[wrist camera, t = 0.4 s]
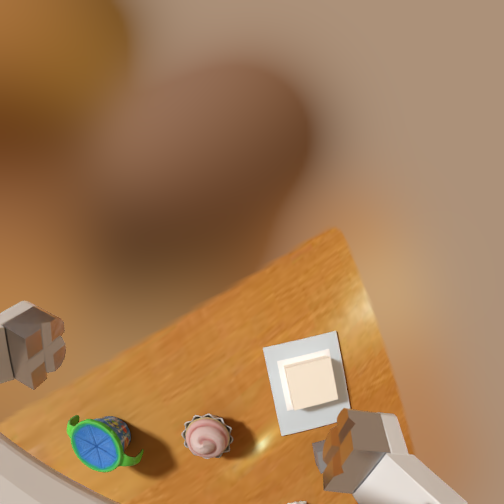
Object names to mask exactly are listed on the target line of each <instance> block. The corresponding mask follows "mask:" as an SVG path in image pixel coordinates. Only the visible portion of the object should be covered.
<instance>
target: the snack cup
mask: <svg viewBox="0 0 504 504" xmlns="http://www.w3.org/2000/svg"><path fill="white" fill-rule="evenodd" d="M78 422H79V416H78V415H75V416H73V417H72V418H71V419H70V420H69V421H68V425H67V433H68V435H69V437H70V438H71V444H72V448H73V450H74V452H75V454H76V455H77V457H78V458H79V459H80V460H81V462H82V463H84V464H85V465H86V466H88V467H89V468H91V469H93V470H95V471H99V472H110V471H112V470H114V469H116V468H117V467H118V466H132V465H136V464H138V463H139V462H140V461H141V458H142V455H143V451H144V450H143V449H142V450H141V452H140V453H139V454H138V455H137V456H136V457H130V456H127V455H126V454H124V453H125V451H126V449H127V448H128V445H129V443H130V441H131V434H130V430H129V428H128V427H127V424H126V423H125V422H123V421H122V420H121V419H119V418H116V417H112V416H108V417H102V418H98V419H94V420H93V419H86V420H84V421H81V422H80V423H78Z"/></svg>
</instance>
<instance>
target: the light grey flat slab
mask: <svg viewBox="0 0 504 504" xmlns="http://www.w3.org/2000/svg"><path fill="white" fill-rule="evenodd" d="M263 351H264V356H265V360H266V365H267V370H268V375H269V379H270V384H271V389H272V394H273V398H274V403H275V408H276V412H277V417H278V422H279V426H280V431H281V435H282V436H284V435H288V434H293V433H297V432H301V431H305V430H309V429H313V428H317V427H321V426H324V425H328V424H332V423H335V422H337V417H338V415H339V413H340V411H341V410H342V409H343V408H348V409H350V403H349V397H348V392H347V386H346V380H345V375H344V369H343V364H342V359H341V353H340V348H339V343H338V338H337V333H336V331H332V332H328V333H325V334H321V335H316V336H312V337H308V338H304V339H300V340H295V341H291V342H287V343H282V344H278V345H273V346H268V347H264V348H263ZM324 355H326V356H328V357H330V358H331V363H332V368H333V374H334V379H335V385H336V390H337V396H338V399H337V400H333V401H330V402H326V403H322V404H319V405H315V406H311V407H307V408H303V409H299V410H294V409H293V407H292V405H291V400H290V395H289V390H288V385H287V380H286V375H285V371H284V366H283V365H287V364H291V363H295V362H300V361H304V360H308V359H312V358H316V357H320V356H324Z"/></svg>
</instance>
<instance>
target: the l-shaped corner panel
mask: <svg viewBox="0 0 504 504" xmlns="http://www.w3.org/2000/svg"><path fill="white" fill-rule="evenodd" d="M287 504H306V501H300V502H294V503H287Z"/></svg>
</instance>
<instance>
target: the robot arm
mask: <svg viewBox="0 0 504 504" xmlns="http://www.w3.org/2000/svg"><path fill="white" fill-rule="evenodd" d="M64 331H65V330H64V322H63V321H62V320H61V319H60V318H59V317H57V316H55V315H53V314H51V313H49V312H47V311H45V310H44V309H42V308H40V307H37V306H36V305H34V304H32V303H30V302H28V301H22V302H20V303H18V304H16V305H14V306H13V307H10V308H9V309H7V310H5V311H3V312H1V313H0V383H4V382H7V381H10V380H13V379H14V378H15V379H17V380H18V381H20V382H21V383H23V384H25V385H26V386H28V387H30V388H31V389H33V390H35V389H36V388H37V387H38V386H39V385H40V384H41V383H43V381H45V380H46V379H47V373H49V372H53V371H56V370H57V369H58V368H59V367H60V366H61V364H62V362H63V360H64V358H65V353H66V347H65V343H64V341H63V339H62V337H61V336H62V334H63V333H64ZM323 461H324V462H325V463H326V464H327V467H326V468H325V470H324V471H323V485H324V490H325V491H333V492H341V493H351V494H353V496H354V498H355V499H356V501H357V502H358V504H468V503H467V501H466V500H464V499H463V498H462V497H461V496H460V495H459V494H457V493H456V492H455V491H454V490H453V489H452V488H451V487H449V486H448V485H447V484H446V483H445V482H444V481H442V480H441V479H440V478H439V477H438V476H437V475H436V474H434V473H433V472H432V471H431V470H430V469H429V468H428V467H426V466H425V465H424V464H423V463H422V462H421V461H420V460H419V459H417V458H416V457H415V456H414V455H409V454H408V450H407V447H406V444H405V441H404V438H403V435H402V432H401V428H400V425H399V422H398V419H397V417H396V416H395V415H394V414H389V413H379V412H378V413H375V412H368V411H361V410H354V409H348V408H343V409H342V410H341V411H340V413H339V415H338V417H337V426H335V427H334V428H332V429H330V431H329V433H328V435H327V437H326V440H325V443H324V446H323ZM0 504H120V503H118V502H115V501H113V500H111V499H109V498H107V497H105V496H103V495H100V494H98V493H96V492H94V491H92V490H90V489H88V488H86V487H85V486H83V485H81V484H79V483H77V482H75V481H73V480H72V479H70V478H68V477H66V476H64V475H63V474H61V473H59V472H58V471H56V470H54V469H53V468H51V467H49V466H48V465H46V464H45V463H43V462H41V461H40V460H38V459H37V458H35V457H34V456H32V455H31V454H29V453H28V452H26V451H25V450H23V449H22V448H21V447H19V446H18V445H16V444H15V443H14V442H12V441H11V440H9V439H8V438H7V437H5V436H4V435H3V434H2V433H0Z"/></svg>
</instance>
